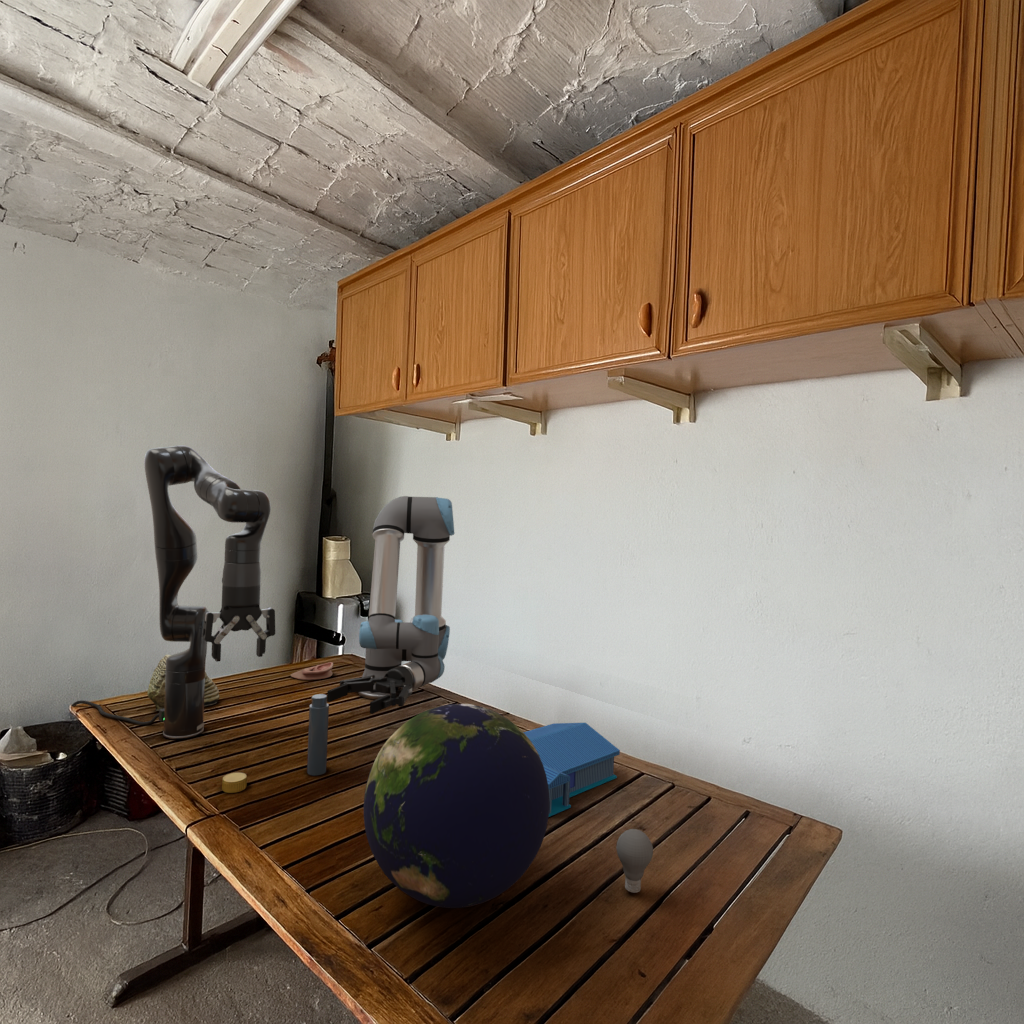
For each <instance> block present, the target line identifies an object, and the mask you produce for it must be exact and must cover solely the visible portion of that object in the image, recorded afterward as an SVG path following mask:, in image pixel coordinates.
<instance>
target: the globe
mask: <svg viewBox="0 0 1024 1024" xmlns="http://www.w3.org/2000/svg"><path fill="white" fill-rule="evenodd" d="M523 732H524V731H523V730H522V729H521V728H520V727H519V726H517V724H515V723H514V722H513V721H512V720H510V719H509V718H507V717H505V716H504V715H503V714H501V713H498V712H497V711H494V710H493V709H490V708H486V707H484V706H479V705H476V704H472V703H450V704H444V705H440V706H439V705H438V706H436V707H432V708H429V709H427V710H425V711H423V712H420V713H419V714H416V715H415V716H413V717H412V718H410V719H408V720H407V721H406V722H404V723H403V724H401V726H400V727H398V729H396V730H395V731H394V732H393V734H392V735H391V736H390V737H388V739H387V740H386V741H385V742H384V744H383V745H382V747H381V748H380V750H379V752H378V753H377V755H376V758H375V759H374V762H373V764H372V766H371V768H370V771H369V774H368V778H367V781H366V783H365V790H364V797H363V824H364V830H365V835H366V839H367V842H368V845H369V848H370V851H371V854H372V856H373V858H374V859H375V861H376V863H377V864H378V867H379V868H380V869H381V871H382V872H383V874H384V875H385V876H386V877H387V878H388V879H389V881H390V882H391V883H392V884H393V885H394V886H395V887H396V888H398V890H400V891H402V893H404V894H406V895H407V896H409V897H411V898H413V899H414V900H415V901H418V902H421V903H423V904H425V905H429V906H433V907H437V908H442V909H443V908H444V909H462V908H470V907H474V906H477V905H480V904H484V903H487V902H489V901H491V900H493V899H495V898H496V897H498V896H500V895H501V894H503V893H505V892H506V891H508V890H509V889H510V888H511V887H512V886H513V885H515V884H516V883H517V882H518V881H519V880H520V879H521V878H522V876H524V874H525V873H526V872H527V870H528V869H529V868H530V866H531V865H532V864H533V862H534V860H535V858H536V857H537V855H538V853H539V851H540V848H541V846H542V844H543V841H544V839H545V835H546V832H547V827H548V823H549V788H548V782H547V777H546V773H545V770H544V766H543V764H542V761H541V759H540V756H539V754H538V752H537V750H536V749H535V747H534V745H533V744H532V742H531V741H530V739H529V738H528V737H527V736H526V735H525V734H524V733H523Z"/></svg>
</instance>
